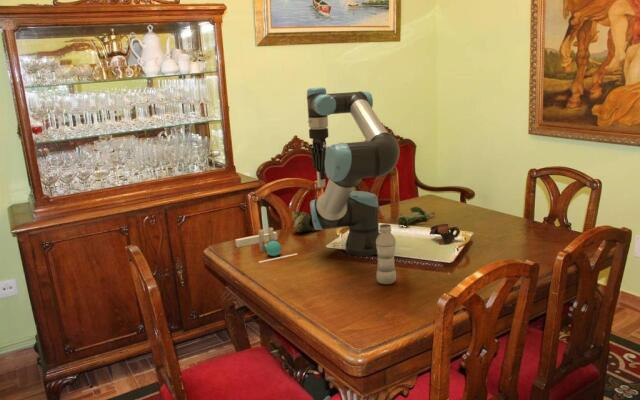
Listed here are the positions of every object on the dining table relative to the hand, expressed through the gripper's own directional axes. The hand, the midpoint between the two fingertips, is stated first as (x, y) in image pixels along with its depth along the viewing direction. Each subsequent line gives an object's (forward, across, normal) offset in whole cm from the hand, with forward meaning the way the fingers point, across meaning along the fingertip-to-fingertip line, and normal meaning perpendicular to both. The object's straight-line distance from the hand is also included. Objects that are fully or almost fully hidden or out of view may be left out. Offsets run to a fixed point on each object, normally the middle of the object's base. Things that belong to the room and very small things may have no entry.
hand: (321, 186), depth 224 cm
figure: (+25, -4, +49) cm, 55 cm away
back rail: (+24, -19, -22) cm, 38 cm away
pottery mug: (+25, +25, +42) cm, 55 cm away
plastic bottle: (+25, +48, -2) cm, 54 cm away
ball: (+21, 0, -23) cm, 31 cm away
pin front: (+24, -4, -22) cm, 33 cm away
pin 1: (+24, -7, -24) cm, 35 cm away
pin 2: (+24, -7, -20) cm, 33 cm away
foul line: (+24, +4, -22) cm, 33 cm away
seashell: (+25, -20, +1) cm, 32 cm away
